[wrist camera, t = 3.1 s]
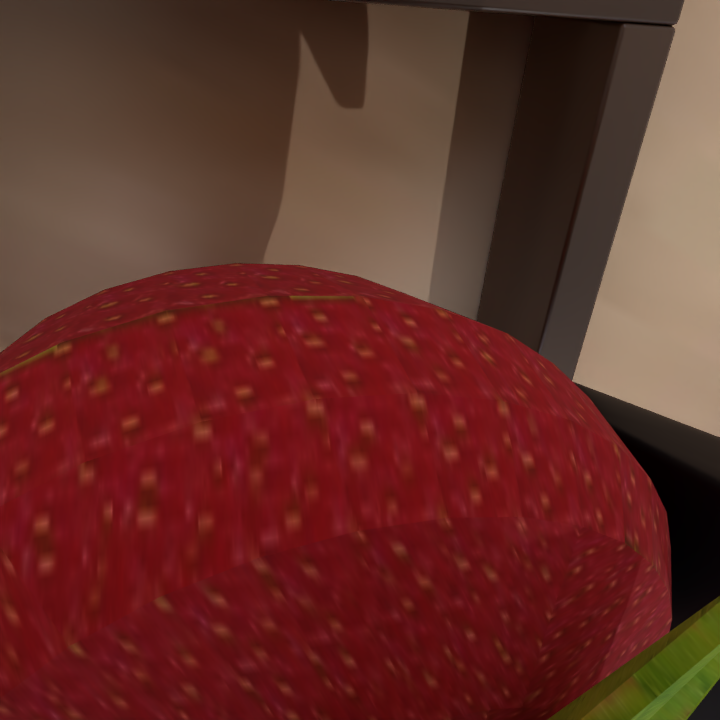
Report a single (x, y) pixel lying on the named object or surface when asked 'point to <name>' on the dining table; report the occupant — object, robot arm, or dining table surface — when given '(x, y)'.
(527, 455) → the strawberry
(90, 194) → the dining table surface
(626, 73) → the brown divided wooden frame
